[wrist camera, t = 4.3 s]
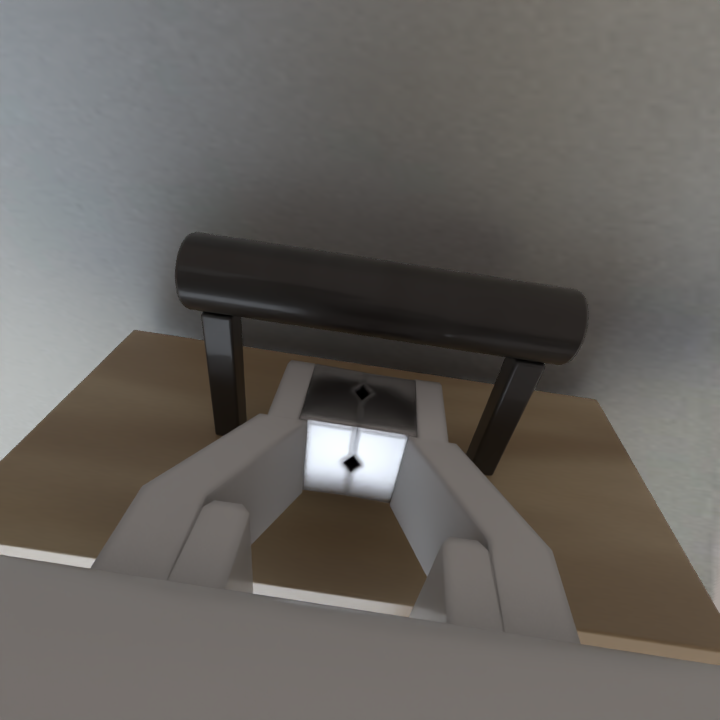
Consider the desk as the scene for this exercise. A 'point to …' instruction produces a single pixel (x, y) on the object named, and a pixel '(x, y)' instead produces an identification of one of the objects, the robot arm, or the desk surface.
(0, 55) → the desk surface
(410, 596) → the drawer
